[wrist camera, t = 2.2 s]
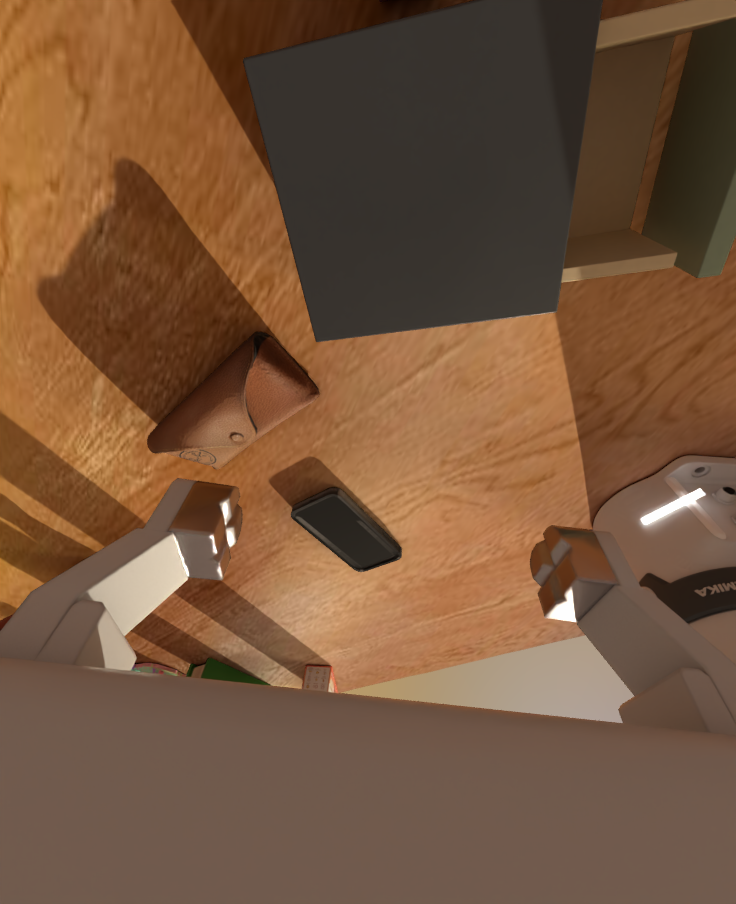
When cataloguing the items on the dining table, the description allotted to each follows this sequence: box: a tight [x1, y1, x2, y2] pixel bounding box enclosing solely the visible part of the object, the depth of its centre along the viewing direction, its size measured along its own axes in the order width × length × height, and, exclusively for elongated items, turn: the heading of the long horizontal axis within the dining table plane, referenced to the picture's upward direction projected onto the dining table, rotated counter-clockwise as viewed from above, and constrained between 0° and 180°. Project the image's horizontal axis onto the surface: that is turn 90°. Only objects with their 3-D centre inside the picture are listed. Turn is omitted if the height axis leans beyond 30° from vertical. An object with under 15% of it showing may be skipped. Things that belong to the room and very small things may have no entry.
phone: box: [291, 487, 402, 572], centre depth 51 cm, size 8×1×15 cm
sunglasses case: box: [147, 332, 319, 469], centre depth 39 cm, size 18×7×7 cm
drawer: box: [561, 0, 736, 283], centre depth 21 cm, size 18×12×7 cm, turn 99°
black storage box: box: [243, 0, 603, 342], centre depth 23 cm, size 15×13×9 cm
